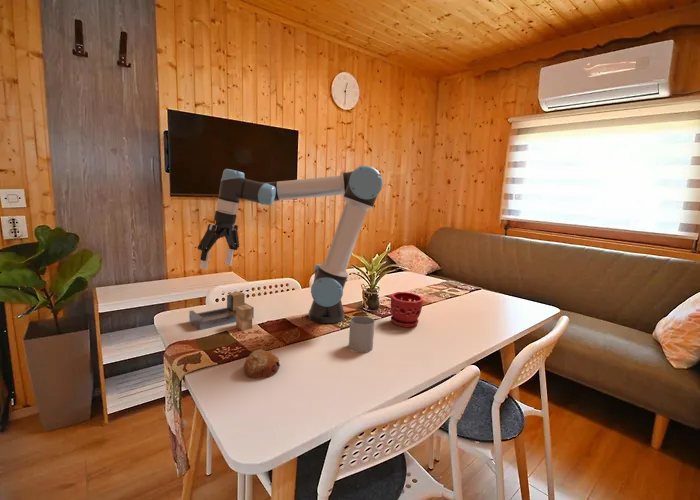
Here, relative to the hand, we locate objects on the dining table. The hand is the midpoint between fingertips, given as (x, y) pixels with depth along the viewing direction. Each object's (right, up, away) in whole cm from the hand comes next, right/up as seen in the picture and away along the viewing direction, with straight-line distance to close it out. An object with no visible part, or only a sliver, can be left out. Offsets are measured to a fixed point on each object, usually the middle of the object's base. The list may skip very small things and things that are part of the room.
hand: (215, 267), depth 136 cm
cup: (+54, -28, -9) cm, 62 cm away
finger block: (+10, -23, +3) cm, 25 cm away
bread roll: (+24, -30, -29) cm, 48 cm away
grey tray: (-1, -22, +9) cm, 23 cm away
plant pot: (+74, -25, +16) cm, 79 cm away
